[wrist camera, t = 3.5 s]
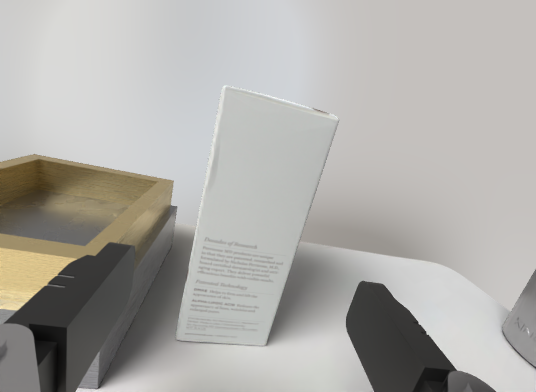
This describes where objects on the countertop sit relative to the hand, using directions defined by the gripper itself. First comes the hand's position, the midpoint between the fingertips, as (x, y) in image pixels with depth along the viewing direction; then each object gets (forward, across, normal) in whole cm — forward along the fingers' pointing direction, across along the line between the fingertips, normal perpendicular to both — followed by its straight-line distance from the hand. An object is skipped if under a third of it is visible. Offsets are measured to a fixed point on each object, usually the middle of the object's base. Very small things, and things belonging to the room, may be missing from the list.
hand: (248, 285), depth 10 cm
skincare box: (+9, 0, +8) cm, 12 cm away
